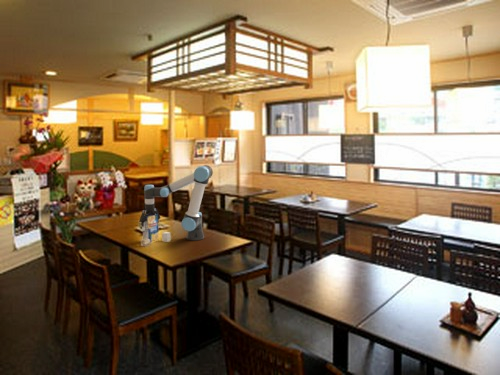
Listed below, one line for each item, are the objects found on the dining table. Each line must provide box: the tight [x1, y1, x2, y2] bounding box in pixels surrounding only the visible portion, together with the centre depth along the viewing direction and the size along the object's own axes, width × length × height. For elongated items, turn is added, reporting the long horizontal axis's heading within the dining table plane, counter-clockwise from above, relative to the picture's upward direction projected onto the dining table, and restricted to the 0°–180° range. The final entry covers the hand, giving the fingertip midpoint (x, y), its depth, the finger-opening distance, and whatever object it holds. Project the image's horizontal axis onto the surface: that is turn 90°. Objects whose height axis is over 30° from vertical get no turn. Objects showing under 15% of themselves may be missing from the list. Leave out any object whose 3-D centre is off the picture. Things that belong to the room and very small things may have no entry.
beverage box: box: [142, 213, 160, 244], centre depth 305 cm, size 7×11×22 cm, turn 146°
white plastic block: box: [161, 231, 172, 243], centre depth 307 cm, size 5×5×7 cm
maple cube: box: [140, 238, 151, 248], centre depth 293 cm, size 5×5×5 cm
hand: (150, 228), depth 305 cm, fingers open, 13 cm apart
